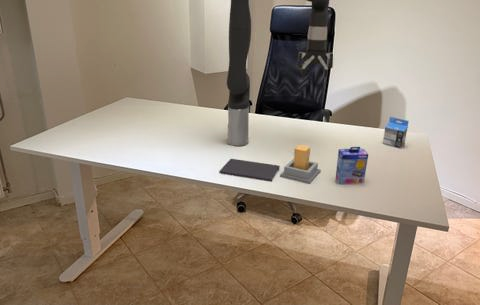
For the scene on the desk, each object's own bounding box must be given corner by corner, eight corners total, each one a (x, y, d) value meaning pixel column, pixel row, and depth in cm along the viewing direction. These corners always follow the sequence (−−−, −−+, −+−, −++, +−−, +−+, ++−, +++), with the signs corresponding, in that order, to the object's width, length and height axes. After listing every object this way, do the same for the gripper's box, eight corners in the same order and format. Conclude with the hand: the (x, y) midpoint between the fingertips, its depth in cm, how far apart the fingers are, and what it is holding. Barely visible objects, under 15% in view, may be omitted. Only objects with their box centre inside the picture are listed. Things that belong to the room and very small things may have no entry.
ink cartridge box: (338, 184, 146) (343, 148, 140) (334, 178, 151) (338, 142, 145) (365, 183, 146) (370, 147, 141) (359, 177, 151) (364, 141, 146)
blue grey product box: (382, 143, 183) (385, 118, 178) (385, 141, 185) (389, 116, 180) (401, 149, 177) (405, 122, 172) (404, 146, 180) (409, 120, 175)
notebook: (219, 174, 154) (272, 183, 148) (219, 170, 154) (272, 179, 147) (230, 161, 165) (280, 169, 159) (230, 158, 165) (280, 165, 158)
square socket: (280, 176, 151) (280, 167, 150) (292, 165, 161) (292, 156, 159) (309, 184, 146) (310, 174, 144) (320, 171, 156) (321, 162, 154)
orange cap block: (293, 172, 152) (294, 148, 149) (297, 168, 156) (299, 144, 152) (304, 175, 150) (305, 151, 146) (308, 170, 154) (310, 147, 150)
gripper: (299, 38, 156) (297, 79, 162) (336, 39, 155) (332, 80, 161) (298, 36, 163) (296, 75, 169) (333, 37, 162) (329, 76, 168)
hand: (313, 78), depth 165 cm, fingers open, 8 cm apart
